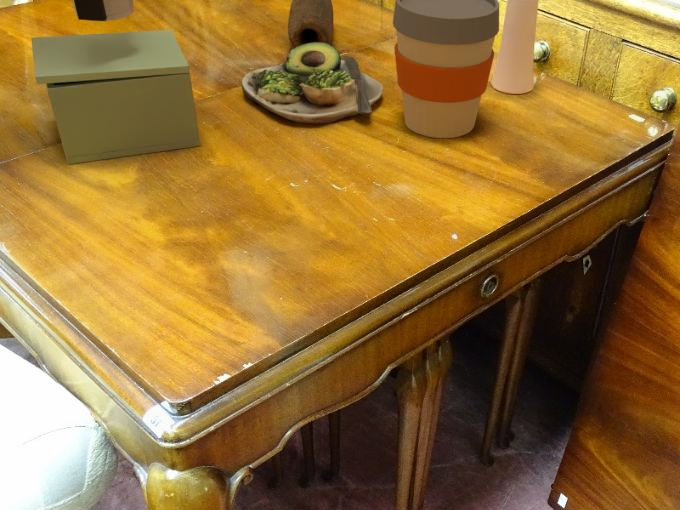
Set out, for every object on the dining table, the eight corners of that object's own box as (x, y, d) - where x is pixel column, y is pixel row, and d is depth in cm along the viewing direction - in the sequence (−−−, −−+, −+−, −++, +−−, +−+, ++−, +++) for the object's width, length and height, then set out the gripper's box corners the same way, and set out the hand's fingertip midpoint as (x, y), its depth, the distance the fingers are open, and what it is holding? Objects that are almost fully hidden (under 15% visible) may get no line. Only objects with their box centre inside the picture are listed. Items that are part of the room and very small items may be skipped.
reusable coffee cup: (370, 119, 98) (370, -3, 89) (438, 93, 105) (445, -22, 96) (441, 155, 92) (449, 27, 82) (508, 125, 99) (524, 4, 89)
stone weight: (288, 24, 123) (285, -19, 119) (332, 24, 124) (331, -19, 120) (289, 61, 112) (286, 13, 107) (338, 60, 113) (337, 13, 108)
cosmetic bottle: (490, 92, 106) (510, -83, 92) (490, 75, 111) (508, -94, 97) (534, 96, 106) (560, -79, 92) (532, 78, 111) (557, -91, 97)
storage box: (67, 164, 86) (46, 88, 80) (61, 120, 94) (41, 48, 88) (200, 146, 91) (190, 73, 85) (183, 105, 99) (172, 36, 93)
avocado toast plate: (420, 111, 101) (421, 77, 98) (300, 144, 92) (298, 108, 89) (340, 62, 112) (339, 30, 109) (227, 87, 103) (223, 53, 101)
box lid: (37, 84, 80) (35, 76, 79) (32, 44, 88) (31, 37, 87) (189, 72, 85) (189, 65, 84) (172, 36, 93) (171, 29, 93)
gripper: (44, -250, 61) (108, 42, 76) (124, -263, 76) (164, -17, 90) (-51, -255, 61) (31, 38, 76) (48, -268, 75) (100, -20, 90)
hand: (104, 8), depth 83 cm, fingers closed on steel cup, 6 cm apart
